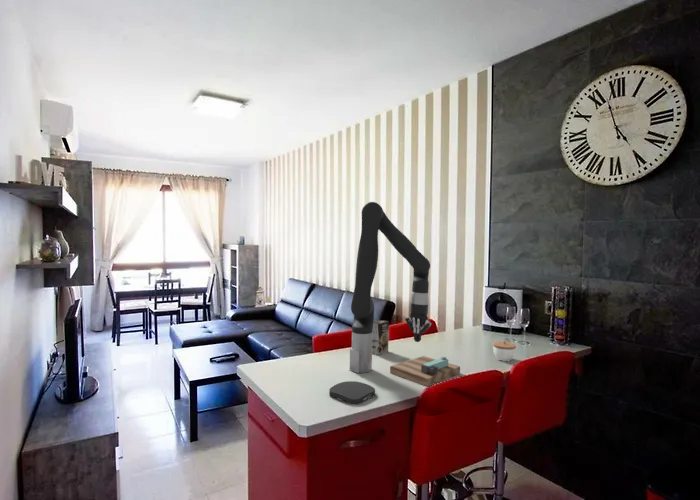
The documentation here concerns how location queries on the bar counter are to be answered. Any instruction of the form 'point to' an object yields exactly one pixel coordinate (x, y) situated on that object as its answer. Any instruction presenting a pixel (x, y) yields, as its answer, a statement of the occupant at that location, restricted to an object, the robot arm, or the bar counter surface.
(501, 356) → the lidded jar
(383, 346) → the coffee box
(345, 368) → the bar counter surface
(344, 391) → the media streaming box
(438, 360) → the folding leg
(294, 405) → the bar counter surface
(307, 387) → the bar counter surface
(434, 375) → the wooden board
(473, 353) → the bar counter surface
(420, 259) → the robot arm
